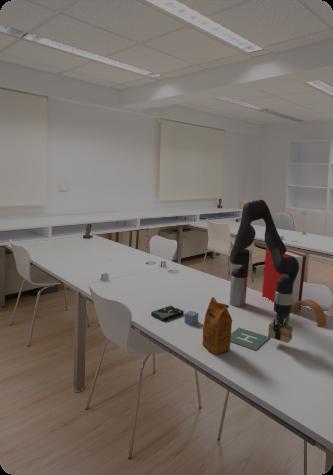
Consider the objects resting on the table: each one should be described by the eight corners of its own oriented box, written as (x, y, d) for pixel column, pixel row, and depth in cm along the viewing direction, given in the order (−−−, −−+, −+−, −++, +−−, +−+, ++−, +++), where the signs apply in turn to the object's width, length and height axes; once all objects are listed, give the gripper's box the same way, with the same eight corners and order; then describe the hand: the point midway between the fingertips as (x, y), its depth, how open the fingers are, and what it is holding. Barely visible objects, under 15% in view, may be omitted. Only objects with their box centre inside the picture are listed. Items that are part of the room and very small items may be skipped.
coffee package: (217, 339, 164) (220, 294, 160) (233, 352, 153) (236, 303, 149) (198, 343, 160) (201, 297, 156) (213, 356, 149) (216, 307, 145)
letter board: (239, 328, 177) (239, 327, 177) (269, 338, 167) (269, 337, 167) (223, 339, 165) (223, 338, 164) (255, 350, 155) (255, 349, 155)
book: (300, 310, 204) (306, 255, 198) (288, 311, 201) (294, 256, 195) (271, 294, 229) (275, 245, 223) (260, 295, 226) (264, 246, 220)
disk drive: (170, 310, 199) (150, 316, 189) (170, 305, 199) (150, 311, 189) (183, 315, 192) (164, 322, 182) (184, 310, 192) (164, 317, 181)
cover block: (272, 333, 165) (273, 321, 164) (291, 339, 159) (292, 326, 158) (268, 336, 161) (269, 324, 160) (287, 343, 155) (289, 330, 154)
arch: (297, 311, 202) (299, 294, 200) (326, 325, 184) (328, 307, 182) (289, 312, 199) (291, 295, 198) (317, 327, 182) (320, 308, 180)
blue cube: (189, 319, 186) (190, 310, 185) (197, 322, 183) (198, 313, 182) (184, 322, 182) (184, 313, 181) (192, 325, 179) (193, 316, 178)
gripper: (280, 295, 165) (277, 329, 168) (268, 303, 154) (265, 340, 157) (297, 299, 160) (293, 334, 163) (285, 308, 149) (282, 345, 152)
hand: (279, 337), depth 160 cm, fingers closed on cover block, 5 cm apart
